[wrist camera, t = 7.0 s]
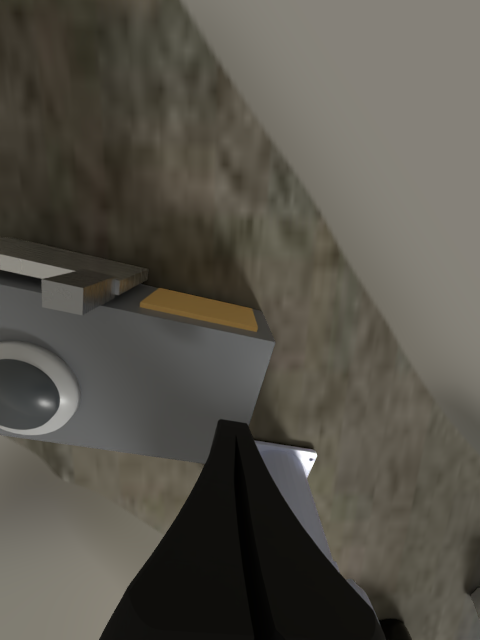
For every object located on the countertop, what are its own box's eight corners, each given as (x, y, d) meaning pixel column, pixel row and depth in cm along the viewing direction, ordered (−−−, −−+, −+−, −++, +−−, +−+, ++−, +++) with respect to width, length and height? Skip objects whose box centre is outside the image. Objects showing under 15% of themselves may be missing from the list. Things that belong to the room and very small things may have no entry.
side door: (146, 282, 17) (87, 316, 10) (14, 252, 16) (-161, 266, 9) (148, 266, 17) (88, 289, 10) (13, 234, 16) (-170, 233, 9)
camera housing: (233, 409, 22) (235, 481, 16) (28, 374, 20) (-68, 441, 14) (262, 307, 19) (280, 345, 13) (22, 253, 17) (-107, 264, 11)
